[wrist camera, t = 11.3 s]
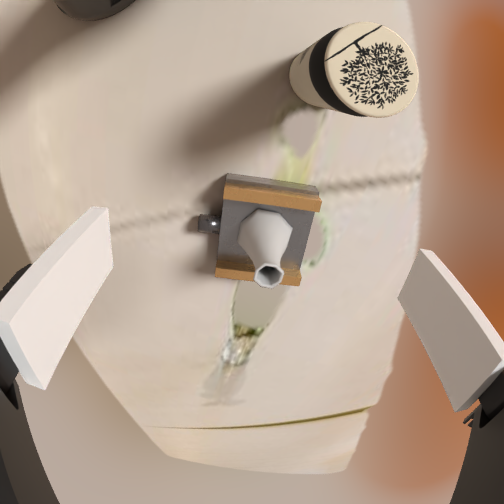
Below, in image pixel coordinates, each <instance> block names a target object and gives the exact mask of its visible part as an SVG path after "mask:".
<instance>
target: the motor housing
mask: <svg viewBox="0 0 504 504" xmlns="http://www.w3.org/2000/svg"><path fill="white" fill-rule="evenodd" d="M223 199H224V200H223V209H222V217H221V216H212V215H204V214H200V216H199V222H198V232H207V233H215V234H220V236H219V246H218V256H217V263H216V270H215V277H221V278H229V279H237V280H246V281H254V280H253V277H254V273H255V266H254V264H253V261H252V260H251V258H250V257H249V256H248V254H247V253H246V252H245V250H244V249H243V248H242V247H241V246H240V245H239V243H238V242H237V239H238V234H239V230H240V225H241V222H242V221H243V220H245V219H246V218H247V217H248V216H250V215H251V214H252V213H253V212H254V211H256V210H257V209H260V210H265V211H270V212H275V213H279V214H280V215H281V216H282V217H283V218H284V219H285V220H286V221H287V222H288V224H289V225H290V226H291V227H292V228H293V229H292V232H291V235H290V239H289V242H288V245H287V248H286V250H285V252H284V253H283V255H282V257H281V260H280V268H281V269H282V270H283V271H284V275H283V278H282V281H281V283H280V284H283V285H292V286H299V285H300V281H301V274H300V267H301V263H302V259H303V255H304V252H305V248H306V244H307V240H308V236H309V232H310V228H311V224H312V221H313V217H314V213H315V212H319V211H320V207H321V203H322V201H321V199H320V198H319V191H318V189H317V188H316V186H310V185H304V184H298V183H292V182H286V181H280V180H273V179H266V178H259V177H252V176H244V175H237V174H229V173H227V177H226V183H225V187H224V195H223Z"/></svg>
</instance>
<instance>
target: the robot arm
mask: <svg viewBox="0 0 504 504" xmlns="http://www.w3.org/2000/svg"><path fill="white" fill-rule="evenodd" d="M53 1H54V2H55V3H56V4H57V6H58V8H59V9H60V10H61V11H62V12H63V13H64V14H66V15H67V16H69V17H72V18H76V19H79V20H84V21H93V20H99V19H103V18H106V17H109V16H111V15H114V14H116V13H118V12H119V11H121V10H123V9H124V8H126V7H127V6H129V5H130V4H131V3H133V2H134V1H135V0H53ZM113 267H114V266H113V258H112V248H111V238H110V226H109V212H108V208H105V207H94V206H92V207H91V208H89V209H88V210H87V211H86V212H85V213H84V214H83V215H82V216H81V217H80V218H78V219H77V220H76V221H75V222H74V223H73V224H72V225H71V226H70V227H69V228H68V229H67V230H66V231H65V232H64V233H63V234H62V235H61V236H60V237H59V238H58V239H57V240H56V241H55V242H54V243H53V244H52V245H51V246H50V247H49V248H48V249H47V250H46V251H45V252H44V253H43V254H42V255H41V256H40V257H39V258H38V259H37V260H36V261H35V262H34V263H33V264H28V265H27V266H25V267H24V268H22V269H21V270H19V271H18V272H17V273H16V274H15V275H14V276H13V277H12V278H11V280H10V282H9V283H7V284H6V285H5V286H4V287H3V290H2V291H0V504H60V503H59V501H58V500H57V497H56V495H55V493H54V491H53V489H52V487H51V484H50V482H49V480H48V478H47V475H46V473H45V471H44V468H43V466H42V463H41V460H40V458H39V455H38V453H37V450H36V447H35V444H34V441H33V438H32V435H31V432H30V428H29V425H28V422H27V418H26V415H25V411H24V407H23V403H22V399H21V395H20V391H19V386H18V384H17V382H16V380H15V377H16V376H17V374H18V372H20V374H21V375H22V377H23V379H24V380H25V382H26V383H28V384H30V385H33V386H35V387H38V388H40V389H43V390H46V388H47V385H48V383H49V381H50V379H51V377H52V374H53V373H54V371H55V369H56V367H57V365H58V363H59V360H60V359H61V357H62V355H63V353H64V351H65V349H66V347H67V345H68V343H69V341H70V339H71V338H72V336H73V334H74V332H75V330H76V328H77V327H78V325H79V323H80V321H81V320H82V318H83V316H84V314H85V313H86V311H87V309H88V307H89V306H90V304H91V302H92V301H93V299H94V297H95V296H96V294H97V292H98V291H99V289H100V287H101V286H102V284H103V282H104V281H105V279H106V278H107V276H108V275H109V273H110V271H111V270H112V268H113ZM398 300H399V302H400V303H401V305H402V307H403V309H404V310H405V312H406V314H407V316H408V318H409V319H410V321H411V323H412V325H413V327H414V329H415V330H416V332H417V334H418V336H419V338H420V340H421V342H422V343H423V346H424V347H425V350H426V352H427V354H428V356H429V357H430V360H431V361H432V363H433V365H434V368H435V369H436V372H437V374H438V376H439V378H440V380H441V382H442V384H443V387H444V389H445V391H446V393H447V396H448V398H449V400H450V402H451V405H452V407H453V409H454V411H455V412H458V411H462V410H466V409H468V408H469V407H470V406H471V405H472V404H473V403H474V402H475V401H476V400H477V399H479V401H480V403H481V404H480V405H479V406H478V407H477V408H476V409H475V410H474V411H473V412H472V413H471V414H470V415H469V416H467V418H465V420H464V422H463V423H464V424H465V423H467V422H468V421H469V420H470V419H473V420H472V421H471V422H470V423H469V424H468V426H469V427H472V429H471V434H470V438H469V443H468V447H467V451H466V455H465V459H464V462H463V465H462V469H461V472H460V476H459V479H458V482H457V485H456V488H455V491H454V493H453V496H452V499H451V502H450V504H504V342H503V340H502V339H501V338H500V336H499V335H498V333H497V332H496V331H495V329H494V327H493V326H492V325H491V323H490V322H489V320H488V319H487V318H486V316H485V315H484V314H483V312H482V311H481V310H480V308H479V307H478V306H477V304H476V303H475V302H474V300H473V299H472V298H471V296H470V295H469V294H468V293H467V291H466V290H465V289H464V288H463V286H462V285H461V284H460V283H459V282H458V280H456V278H455V277H454V276H453V274H452V273H451V272H450V271H449V270H448V268H447V267H446V266H445V265H444V264H443V263H442V262H441V260H440V259H439V258H438V257H437V256H436V255H435V254H434V253H433V252H432V251H430V250H424V249H419V252H418V254H417V257H416V259H415V261H414V264H413V266H412V268H411V270H410V273H409V275H408V277H407V279H406V281H405V283H404V286H403V288H402V290H401V292H400V294H399V296H398Z"/></svg>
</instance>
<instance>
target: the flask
mask: <svg viewBox="0 0 504 504" xmlns="http://www.w3.org/2000/svg"><path fill="white" fill-rule="evenodd" d="M292 229H293V228H292V227H291V226H290V225H289V224H288V222H287V221H286V220H285V219H284V218H283V217H282V216H281V215H280V214H279V213H275V212H270V211H265V210H260V209H257V210H256V211H254V212H253V213H252V214H251V215H250V216H248V217H247V218H246V219H245V220H243V221H242V222H241V225H240V230H239V234H238V239H237V242H238V243H239V245H240V246H241V247H242V248H243V249H244V250H245V252H246V253H247V254H248V256H249V257H250V258H251V260H252V261H253V264H254V266H255V273H254V277H253V280H254V281H255V282H256V283H257V284H258V285H259V286H260V287H265V288H271V289H272V288H274V287H275V286H277V285H278V284H280V283H281V281H282V278H283V275H284V271H283V270H282V269H281V268H280V260H281V257H282V255H283V253H284V252H285V250H286V248H287V245H288V242H289V239H290V235H291V232H292Z"/></svg>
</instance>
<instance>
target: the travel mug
mask: <svg viewBox="0 0 504 504" xmlns="http://www.w3.org/2000/svg"><path fill="white" fill-rule="evenodd" d="M289 79H290V84H291V86H292V89H293V90H294V92H295V93H296V95H297V96H298V97H299V98H300V99H302V100H303V101H305V102H306V103H308V104H311V105H314V106H318V107H322V108H326V109H331V110H335V111H339V112H342V113H346V114H350V115H354V116H361V117H367V116H369V117H376V118H382V117H389V116H392V115H395V114H397V113H399V112H401V111H402V110H403V109H405V108H406V107H407V106H408V105H409V104H410V102H411V101H412V99H413V98H414V96H415V93H416V91H417V87H418V80H419V74H418V67H417V63H416V60H415V57H414V55H413V53H412V51H411V49H410V48H409V46H408V45H407V43H406V42H405V41H404V40H403V39H402V38H401V37H400V36H399V35H398V34H396V33H395V32H394V31H392V30H391V29H389V28H387V27H385V26H382V25H380V24H376V23H371V22H358V23H353V24H350V25H347V26H345V27H342V28H338V29H336V30H333V31H331V32H330V33H328V34H327V35H325V36H324V37H322V38H321V39H320V40H318V41H317V42H315V43H314V44H313V45H311V46H310V47H308V48H307V49H306V50H304V51H303V52H302V53H300V54H299V55H298V56H297V57H296V58H295V59H294V60H293V62H292V64H291V67H290V71H289Z"/></svg>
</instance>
